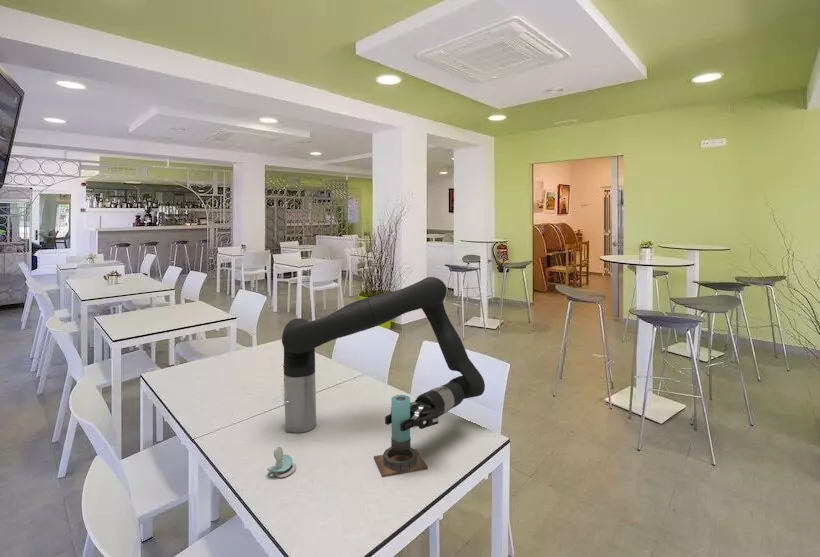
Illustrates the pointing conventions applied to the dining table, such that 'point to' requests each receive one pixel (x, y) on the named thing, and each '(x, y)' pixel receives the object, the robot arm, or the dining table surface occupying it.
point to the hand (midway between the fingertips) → (393, 424)
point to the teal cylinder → (400, 414)
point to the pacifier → (282, 464)
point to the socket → (399, 462)
